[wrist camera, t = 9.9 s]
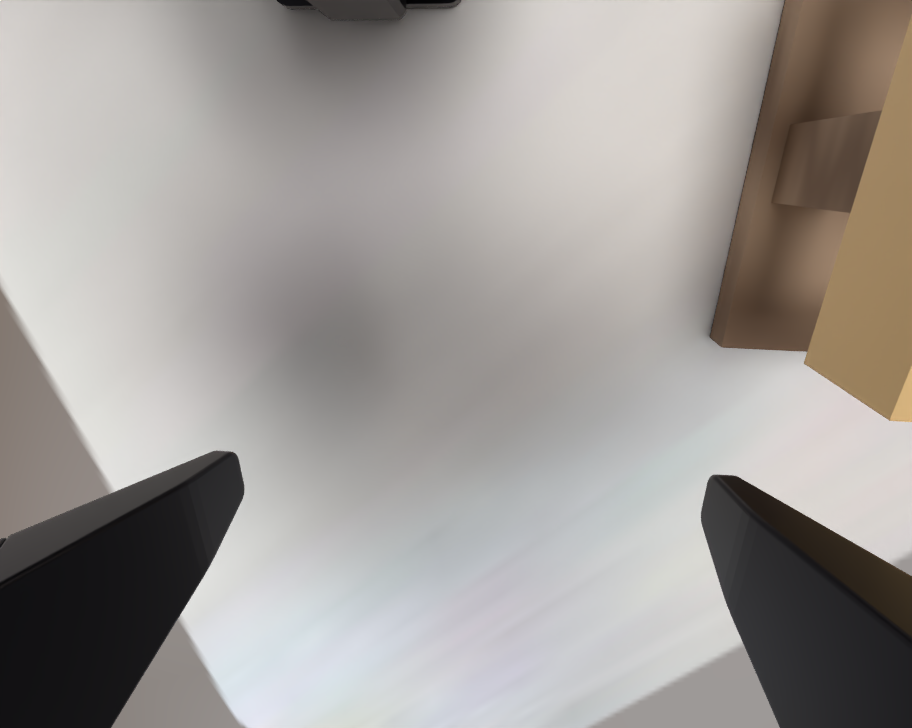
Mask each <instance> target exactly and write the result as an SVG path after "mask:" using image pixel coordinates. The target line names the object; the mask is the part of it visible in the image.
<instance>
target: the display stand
mask: <svg viewBox="0 0 912 728" xmlns="http://www.w3.org/2000/svg"><path fill="white" fill-rule="evenodd" d="M911 16H912V0H785V4H784V8H783V13H782V17H781V21H780V26H779V30H778V35H777V39H776V44H775V48H774V53H773V57H772V62H771V66H770V71H769V75H768V80H767V84H766V89H765V93H764V98H763V102H762V106H761V111H760V115H759V120H758V124H757V129H756V133H755V138H754V142H753V147H752V151H751V156H750V160H749V165H748V169H747V174H746V178H745V182H744V187H743V191H742V196H741V200H740V205H739V209H738V214H737V218H736V223H735V227H734V232H733V236H732V241H731V245H730V250H729V254H728V259H727V263H726V267H725V272H724V276H723V281H722V285H721V290H720V294H719V299H718V303H717V308H716V312H715V317H714V321H713V326H712V330H711V335H710V338H711V339H712V340H714V341H715V342H716V343H717V344H718V345H719V346H721V347H724V348H744V349H765V350H786V351H806V352H808V348H809V345H810V342H811V339H812V335H813V332H814V329H815V326H816V323H817V319H818V316H819V313H820V310H821V306H822V303H823V300H824V297H825V293H826V290H827V287H828V284H829V281H830V277H831V274H832V271H833V268H834V264H835V261H836V258H837V255H838V251H839V248H840V245H841V242H842V239H843V235H844V232H845V229H846V226H847V222H848V219H849V216H850V213H851V209H852V206H853V203H854V200H855V197H856V193H857V190H858V187H859V184H860V180H861V177H862V174H863V171H864V168H865V164H866V161H867V158H868V155H869V151H870V148H871V145H872V142H873V138H874V135H875V132H876V129H877V126H878V122H879V119H880V116H881V113H882V109H883V106H884V103H885V100H886V96H887V93H888V90H889V87H890V84H891V80H892V77H893V74H894V71H895V67H896V64H897V61H898V58H899V54H900V51H901V48H902V45H903V42H904V38H905V35H906V32H907V29H908V25H909V22H910V19H911Z"/></svg>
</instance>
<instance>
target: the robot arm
mask: <svg viewBox="0 0 912 728" xmlns="http://www.w3.org/2000/svg"><path fill="white" fill-rule="evenodd" d="M277 1H278V2H279V3H281V4H282V5H283V6H285V7H286V8H288V9H292V10H300V9H318V10H319V11H320V12H321V13H323V14H324V15H325V16H326V17H328V18H329V19H330V20H399V19H401V18H402V17H403V16H404V15H405V13H406V8H434V7H453V6H456V5H457V4H458V3H460V2H461V0H277ZM243 495H244V482H243V478H242V473H241V468H240V464H239V459H238V456H237V455H236V454H235V453H234V452H229V451H213V452H210V453H208V454H205V455H203V456H200V457H198V458H196V459H193V460H191V461H188V462H186V463H183V464H181V465H179V466H176V467H174V468H171V469H169V470H167V471H164V472H162V473H159V474H157V475H154V476H152V477H150V478H147V479H145V480H142V481H140V482H137V483H135V484H133V485H130V486H128V487H125V488H123V489H121V490H118V491H116V492H113V493H111V494H108V495H106V496H104V497H101V498H99V499H96V500H94V501H92V502H89V503H87V504H84V505H82V506H79V507H77V508H74V509H72V510H70V511H67V512H65V513H63V514H60V515H58V516H55V517H53V518H50V519H48V520H46V521H43V522H41V523H38V524H36V525H34V526H31V527H28V528H26V529H24V530H21V531H19V532H16V533H14V534H12V535H10V536H8V538H7V539H6V538H2V539H0V728H111V727H112V725H113V724H114V722H115V720H116V719H117V717H118V716H119V714H120V712H121V711H122V709H123V707H124V706H125V704H126V703H127V701H128V699H129V698H130V696H131V694H132V693H133V691H134V690H135V688H136V686H137V685H138V683H139V681H140V680H141V678H142V676H143V675H144V673H145V672H146V670H147V668H148V667H149V665H150V663H151V662H152V660H153V659H154V657H155V655H156V654H157V652H158V650H159V649H160V647H161V645H162V644H163V642H164V641H165V639H166V637H167V636H168V634H169V632H170V631H171V629H172V627H173V626H174V624H175V622H176V621H177V619H178V618H179V616H180V614H181V613H182V611H183V610H184V608H185V606H186V605H187V603H188V601H189V600H190V598H191V596H192V595H193V593H194V592H195V590H196V588H197V587H198V585H199V583H200V582H201V580H202V578H203V577H204V575H205V573H206V572H207V570H208V568H209V566H210V564H211V563H212V561H213V559H214V557H215V555H216V553H217V551H218V549H219V547H220V545H221V543H222V540H223V538H224V536H225V534H226V532H227V530H228V528H229V526H230V524H231V522H232V520H233V518H234V516H235V514H236V511H237V509H238V507H239V505H240V503H241V501H242V499H243ZM701 522H702V527H703V530H704V533H705V537H706V540H707V543H708V546H709V550H710V553H711V556H712V559H713V563H714V566H715V569H716V572H717V576H718V579H719V582H720V585H721V589H722V592H723V595H724V598H725V601H726V604H727V606H728V609H729V611H730V614H731V616H732V618H733V621H734V623H735V625H736V628H737V630H738V632H739V635H740V637H741V639H742V642H743V644H744V646H745V648H746V651H747V653H748V655H749V658H750V660H751V662H752V664H753V667H754V669H755V671H756V674H757V676H758V678H759V681H760V683H761V685H762V688H763V690H764V692H765V694H766V697H767V699H768V701H769V704H770V706H771V708H772V711H773V713H774V715H775V718H776V720H777V722H778V724H779V727H780V728H912V576H910V575H909V574H906V573H905V572H903V571H902V570H900V569H898V568H896V567H895V566H893V565H891V564H889V563H888V562H886V561H884V560H882V559H881V558H879V557H877V556H875V555H874V554H872V553H870V552H868V551H867V550H865V549H863V548H861V547H860V546H858V545H856V544H854V543H853V542H851V541H849V540H847V539H846V538H844V537H842V536H840V535H839V534H837V533H835V532H833V531H832V530H830V529H828V528H826V527H825V526H823V525H821V524H819V523H818V522H816V521H814V520H812V519H811V518H809V517H807V516H805V515H804V514H802V513H800V512H798V511H797V510H795V509H793V508H791V507H790V506H788V505H786V504H784V503H783V502H781V501H779V500H777V499H776V498H774V497H772V496H770V495H769V494H767V493H765V492H763V491H762V490H760V489H758V488H756V487H755V486H753V485H751V484H749V483H748V482H746V481H744V480H742V479H741V478H739V477H737V476H733V475H712V476H711V477H710V478H709V480H708V483H707V487H706V492H705V496H704V501H703V506H702V511H701Z"/></svg>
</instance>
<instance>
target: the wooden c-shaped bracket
mask: <svg viewBox="0 0 912 728" xmlns="http://www.w3.org/2000/svg"><path fill="white" fill-rule="evenodd" d="M804 364H806V365H807V366H809V367H810V368H812V369H813V370H815V371H816V372H818V373H819V374H821V375H822V376H824V377H825V378H827V379H828V380H830V381H831V382H833V383H834V384H836V385H837V386H839V387H840V388H842V389H843V390H845V391H846V392H847V393H849V394H850V395H852V396H853V397H855V398H856V399H858V400H859V401H861V402H862V403H864V404H865V405H867V406H868V407H870V408H871V409H873V410H874V411H876V412H877V413H879V414H880V415H882V416H883V417H885V418H886V419H888V420H889V421H904V422H912V16H911V19H910V22H909V25H908V29H907V32H906V35H905V38H904V42H903V45H902V48H901V51H900V54H899V58H898V61H897V64H896V67H895V71H894V74H893V77H892V80H891V84H890V87H889V90H888V93H887V96H886V100H885V103H884V106H883V109H882V113H881V116H880V119H879V122H878V126H877V129H876V132H875V135H874V138H873V142H872V145H871V148H870V151H869V155H868V158H867V161H866V164H865V168H864V171H863V174H862V177H861V180H860V184H859V187H858V190H857V193H856V197H855V200H854V203H853V206H852V209H851V213H850V216H849V219H848V222H847V226H846V229H845V232H844V235H843V239H842V242H841V245H840V248H839V251H838V255H837V258H836V261H835V264H834V268H833V271H832V274H831V277H830V281H829V284H828V287H827V290H826V293H825V297H824V300H823V303H822V306H821V310H820V313H819V316H818V319H817V323H816V326H815V329H814V332H813V335H812V339H811V342H810V345H809V348H808V352H807V355H806V358H805V361H804Z"/></svg>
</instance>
